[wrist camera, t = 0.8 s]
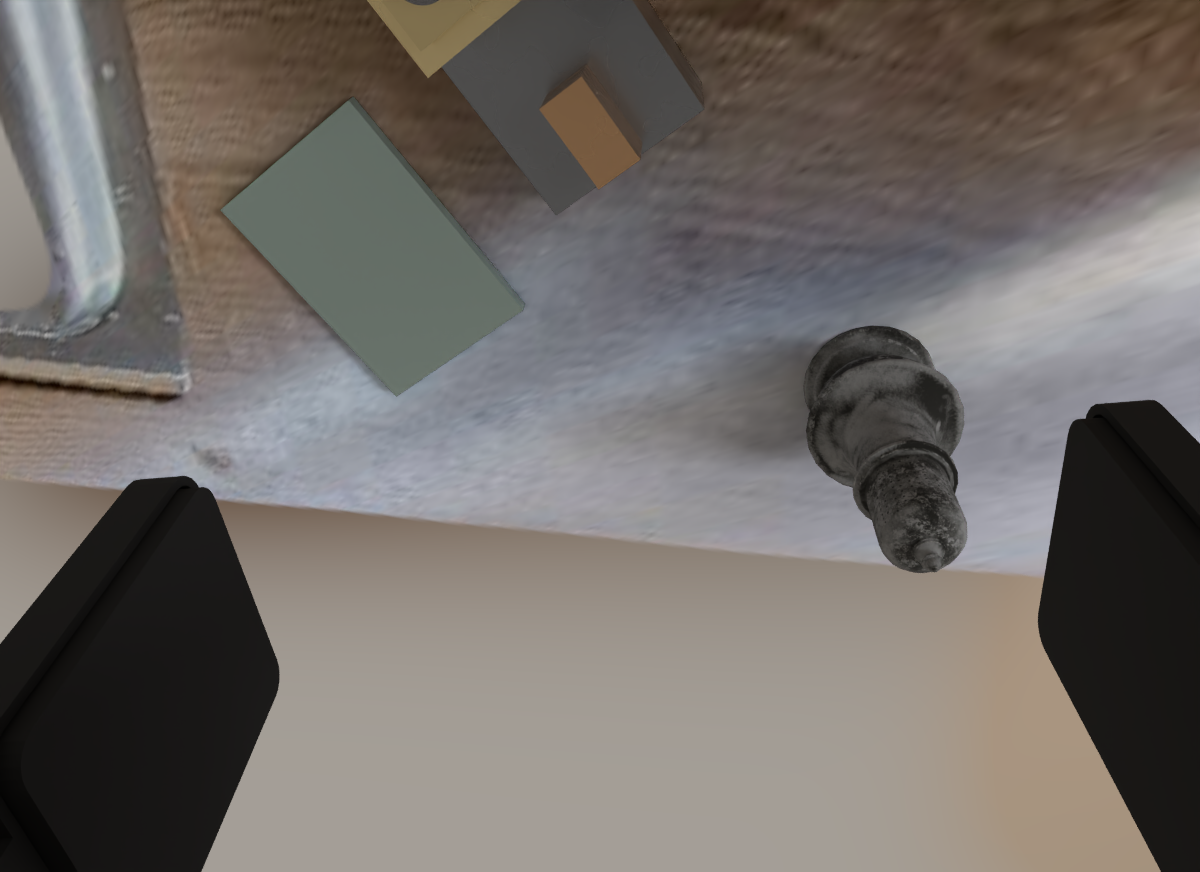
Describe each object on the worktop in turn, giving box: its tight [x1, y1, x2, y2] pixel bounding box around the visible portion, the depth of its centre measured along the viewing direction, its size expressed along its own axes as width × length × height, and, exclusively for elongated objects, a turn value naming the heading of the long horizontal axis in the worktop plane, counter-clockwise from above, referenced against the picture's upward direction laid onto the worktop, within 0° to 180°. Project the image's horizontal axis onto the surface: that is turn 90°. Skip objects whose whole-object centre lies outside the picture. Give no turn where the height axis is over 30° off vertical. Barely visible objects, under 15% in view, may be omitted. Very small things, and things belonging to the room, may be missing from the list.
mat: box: [221, 97, 525, 397], centre depth 38 cm, size 7×10×1 cm
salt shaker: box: [804, 326, 967, 573], centre depth 34 cm, size 6×6×12 cm
